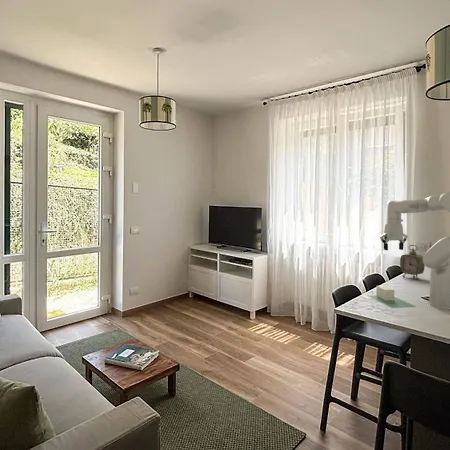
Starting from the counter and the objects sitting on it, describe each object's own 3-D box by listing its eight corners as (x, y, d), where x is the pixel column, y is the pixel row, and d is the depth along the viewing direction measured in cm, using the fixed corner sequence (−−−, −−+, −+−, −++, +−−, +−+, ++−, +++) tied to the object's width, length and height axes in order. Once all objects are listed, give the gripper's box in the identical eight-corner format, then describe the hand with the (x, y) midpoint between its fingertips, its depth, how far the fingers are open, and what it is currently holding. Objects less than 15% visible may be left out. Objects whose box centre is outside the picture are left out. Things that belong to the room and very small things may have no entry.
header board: (390, 296, 208) (390, 289, 208) (416, 308, 184) (416, 300, 184) (368, 297, 206) (368, 289, 206) (391, 310, 183) (392, 301, 182)
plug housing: (384, 295, 206) (384, 285, 206) (394, 300, 196) (394, 289, 196) (376, 295, 206) (376, 285, 205) (385, 300, 196) (386, 290, 195)
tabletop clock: (399, 277, 262) (400, 244, 260) (407, 275, 266) (408, 243, 265) (418, 280, 249) (419, 246, 248) (425, 279, 254) (426, 245, 252)
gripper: (403, 220, 211) (403, 248, 212) (376, 221, 209) (376, 249, 210) (411, 221, 203) (410, 250, 204) (384, 221, 202) (383, 251, 203)
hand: (393, 249), depth 207 cm, fingers open, 9 cm apart
